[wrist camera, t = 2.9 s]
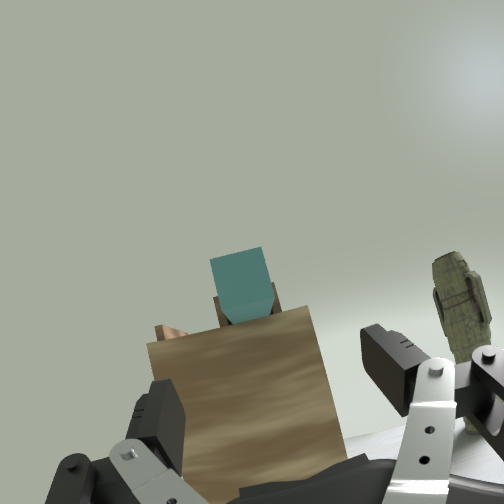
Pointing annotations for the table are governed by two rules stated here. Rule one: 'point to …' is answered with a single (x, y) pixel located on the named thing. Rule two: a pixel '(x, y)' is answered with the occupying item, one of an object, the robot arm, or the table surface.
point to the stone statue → (461, 310)
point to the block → (243, 285)
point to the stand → (250, 401)
